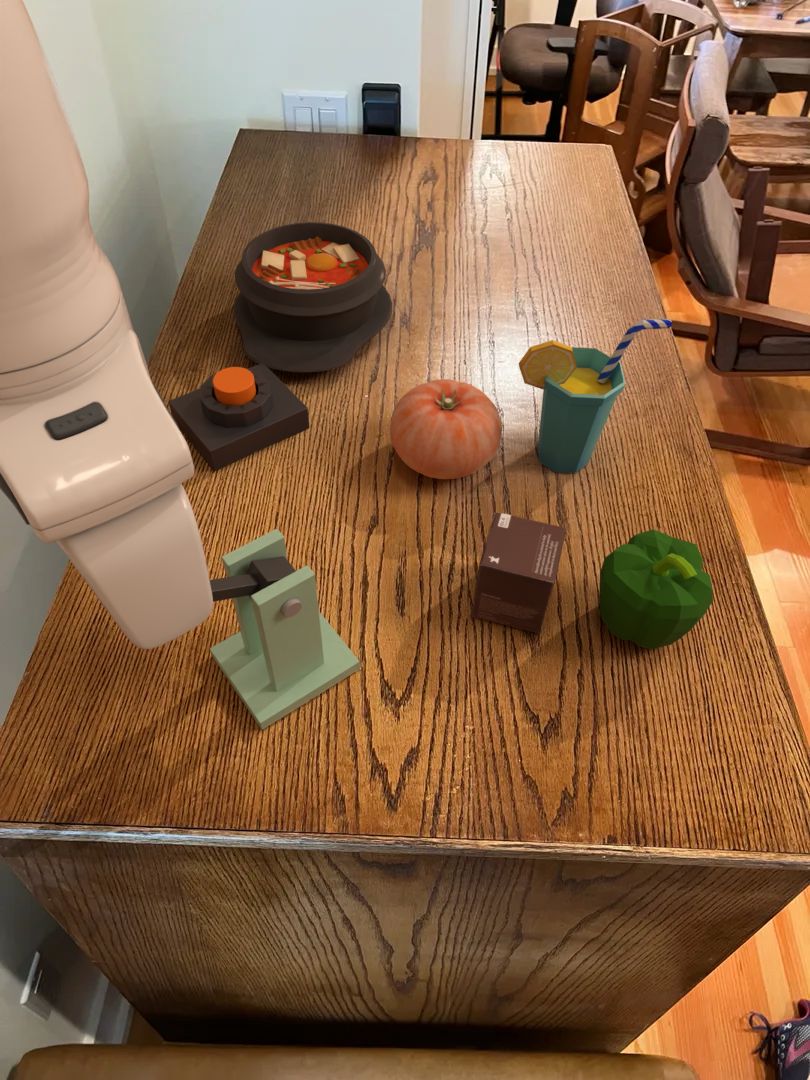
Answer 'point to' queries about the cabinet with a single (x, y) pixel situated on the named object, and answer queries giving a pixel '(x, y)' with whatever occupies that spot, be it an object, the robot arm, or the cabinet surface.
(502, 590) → the box
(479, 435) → the tomato
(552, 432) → the cup
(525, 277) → the cabinet surface
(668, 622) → the bell pepper
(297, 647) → the lever stand
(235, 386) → the button
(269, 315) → the casserole
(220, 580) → the lever
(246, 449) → the button housing
